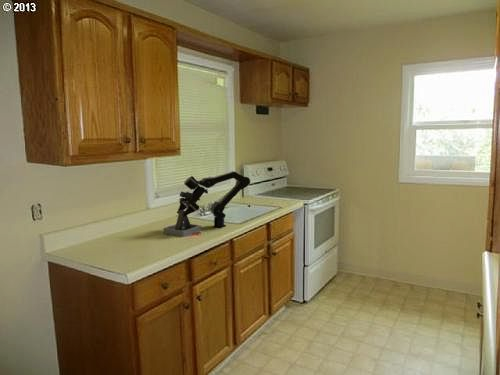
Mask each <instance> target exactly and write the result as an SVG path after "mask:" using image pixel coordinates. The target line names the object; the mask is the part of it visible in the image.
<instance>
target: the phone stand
mask: <svg viewBox="0 0 500 375" xmlns="http://www.w3.org/2000/svg"><path fill="white" fill-rule="evenodd" d="M185 211H186V210H182V211H181V210H179V212H178V213H179V214H178V213H177V214H178V216H177V220H176V226H175V230H180V231H185V230H188V229H191V228H192V227H191V224H192V223H190V222H191V221H190V219H189V218H188V215H186V216H183V214H184V212H185ZM183 223H184V225H185V228H182V226H183Z"/></svg>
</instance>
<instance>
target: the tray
mask: <svg viewBox="0 0 500 375" xmlns="http://www.w3.org/2000/svg"><path fill="white" fill-rule="evenodd" d="M190 224H191V227H192V228H191V229H188V230H185V231H180V230H175V226H176V224H173V225H169V226H166V227H163V228H162V230H163V234H167V235H173V236H178V237H186V236H190V235H193V234H195V233H198V232H200V231H202V225H199V224H194V223H190ZM182 228H185V225H184V222H183V226H182ZM194 232H195V233H194ZM192 233H193V234H192ZM189 234H190V235H189Z"/></svg>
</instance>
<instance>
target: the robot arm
mask: <svg viewBox="0 0 500 375" xmlns="http://www.w3.org/2000/svg"><path fill="white" fill-rule="evenodd" d="M231 179H234V180H236V183H235V185H234V186H233V187H232V188H231V189H230V190H229V191H228V192H227V193H226V195H224V197H223V198H222V199H221V200H220V201H214V202H213V204H211V207H210V210H209V211H210V214H212V215H213V218H214V220H213V224H214V225H212V228H218V229H219V228H220V229H221V228H224V227H226V226H227V224H225V219H226V214H225V213H224V210H225V208H226V206H227V205H228V204H229V203H230V202H231V201H232V200H233V198H234V197H236V196H237V195H238V194H239V193H240V191H242V190H243V189H245V188H247V187H248V186H249V185H250V184H251V178H249V176H248V177H247V176H244V175H241V174H240V173H238V172H237V171H233V170H232V171H229V172H226V173H223V174H220V175H217V176H212V177H211V176H209V177H203V178H202V179H201V180H197V179H196V178H195V177H194V176H192V175H191V176H190V177H188V178H187V179H185V181H184V182H183V184H184V186H186V187H187V188H188V189H189V190H191V191H192V192H191V191H190V192H189V191H180V194H179V197H180V198H179V200H178V201H179V205H178V206H179V207H178V208H177V212H176V213H177V214H178V215H179V213H178V212H179V210H181V211H182V210H183V211H185V212H184V214H183V216H186V215H187V216H188V215H190V214H192V213H194V212H197V211H199V209H200V205H199V204H198V201H200V200H201V197H202V196H203V195H204V194H209V191H208V189H210V188H212V187H214V186H215V185H216V184H220V183H222V182H225V181H228V180H231Z"/></svg>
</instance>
